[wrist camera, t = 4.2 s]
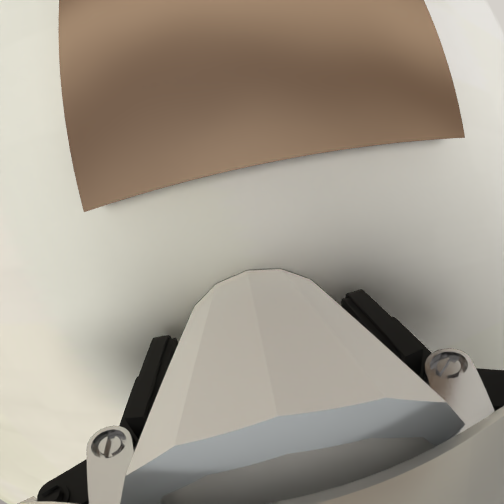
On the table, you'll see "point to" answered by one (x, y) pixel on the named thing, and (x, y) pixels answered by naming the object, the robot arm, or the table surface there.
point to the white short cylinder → (278, 401)
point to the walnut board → (242, 85)
